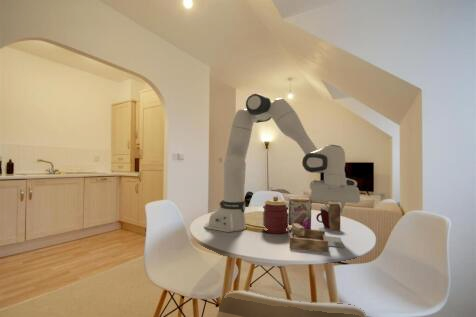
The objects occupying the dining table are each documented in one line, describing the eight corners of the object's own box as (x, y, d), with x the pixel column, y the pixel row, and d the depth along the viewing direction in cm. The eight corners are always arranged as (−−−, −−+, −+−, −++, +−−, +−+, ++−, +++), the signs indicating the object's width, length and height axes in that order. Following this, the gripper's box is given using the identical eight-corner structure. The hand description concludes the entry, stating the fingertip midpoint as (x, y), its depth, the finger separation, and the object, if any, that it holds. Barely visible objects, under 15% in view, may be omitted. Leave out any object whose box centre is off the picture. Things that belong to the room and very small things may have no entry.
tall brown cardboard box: (331, 230, 96) (331, 206, 96) (328, 224, 106) (328, 202, 106) (340, 231, 95) (340, 206, 95) (336, 225, 105) (336, 202, 105)
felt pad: (326, 246, 95) (326, 245, 95) (324, 236, 108) (324, 235, 108) (345, 248, 93) (345, 247, 93) (340, 238, 106) (340, 237, 106)
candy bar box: (289, 230, 116) (289, 198, 116) (288, 228, 121) (288, 197, 121) (311, 231, 115) (311, 199, 115) (309, 229, 120) (309, 198, 120)
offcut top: (298, 236, 96) (298, 227, 96) (291, 231, 103) (291, 223, 103) (304, 236, 96) (304, 227, 96) (297, 231, 103) (297, 223, 103)
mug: (320, 229, 119) (321, 210, 119) (313, 225, 127) (313, 207, 127) (339, 229, 120) (339, 210, 121) (331, 225, 128) (331, 207, 129)
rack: (289, 247, 93) (289, 237, 93) (291, 236, 107) (291, 227, 108) (327, 251, 89) (328, 241, 89) (324, 239, 103) (324, 230, 103)
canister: (263, 233, 110) (263, 197, 111) (262, 226, 123) (262, 194, 124) (290, 234, 110) (290, 198, 110) (286, 227, 123) (286, 194, 123)
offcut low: (293, 245, 96) (293, 236, 96) (293, 238, 104) (293, 230, 104) (301, 246, 95) (301, 236, 95) (300, 239, 104) (300, 230, 104)
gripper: (310, 180, 101) (310, 211, 101) (361, 182, 95) (361, 215, 95) (309, 179, 107) (309, 208, 107) (357, 181, 101) (357, 211, 101)
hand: (334, 211), depth 101 cm, fingers closed on tall brown cardboard box, 3 cm apart
